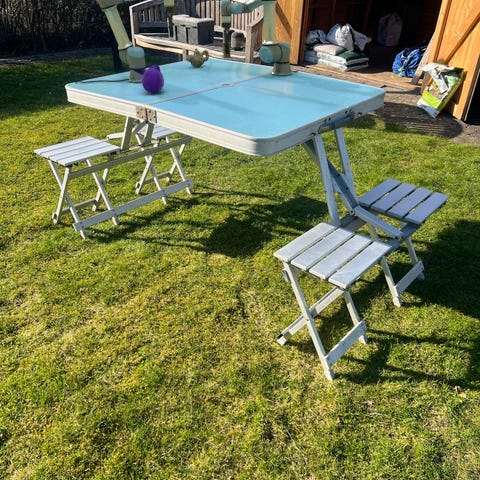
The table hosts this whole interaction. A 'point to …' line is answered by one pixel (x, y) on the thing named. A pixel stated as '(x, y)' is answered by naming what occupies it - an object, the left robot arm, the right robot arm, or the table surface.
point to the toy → (152, 79)
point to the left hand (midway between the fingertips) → (171, 36)
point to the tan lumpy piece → (197, 58)
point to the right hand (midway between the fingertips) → (226, 53)
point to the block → (225, 51)
